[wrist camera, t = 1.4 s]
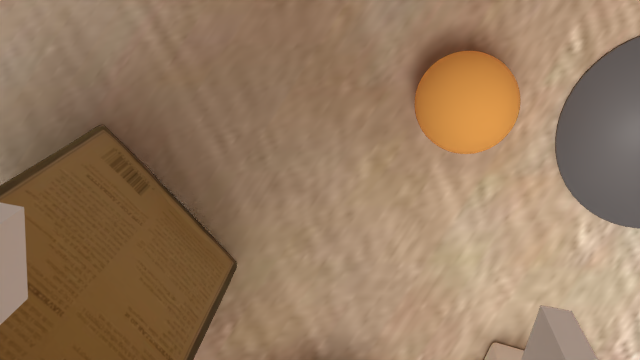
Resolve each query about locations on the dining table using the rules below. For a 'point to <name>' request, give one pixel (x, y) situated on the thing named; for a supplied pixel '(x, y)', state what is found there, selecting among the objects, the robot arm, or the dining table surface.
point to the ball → (467, 102)
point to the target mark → (604, 137)
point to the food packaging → (109, 261)
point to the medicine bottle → (503, 352)
